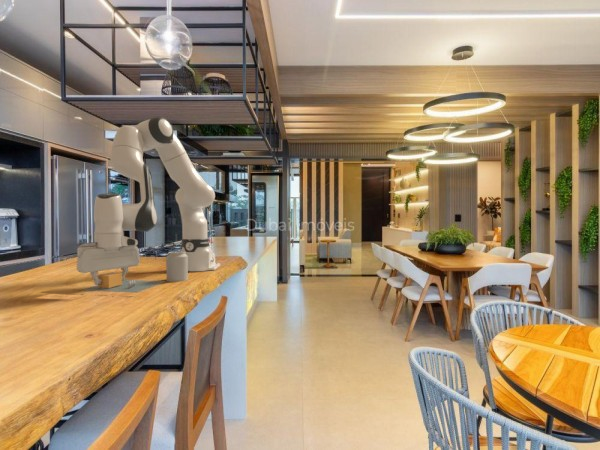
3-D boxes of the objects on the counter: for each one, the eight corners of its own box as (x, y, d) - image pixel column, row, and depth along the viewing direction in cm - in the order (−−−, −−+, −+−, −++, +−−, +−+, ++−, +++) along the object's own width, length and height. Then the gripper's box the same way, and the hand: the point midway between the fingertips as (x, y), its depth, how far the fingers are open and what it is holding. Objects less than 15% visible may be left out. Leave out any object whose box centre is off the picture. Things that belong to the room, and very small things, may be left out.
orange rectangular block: (111, 283, 134) (111, 272, 134) (122, 284, 133) (122, 272, 133) (98, 287, 128) (97, 275, 128) (108, 287, 127) (108, 275, 127)
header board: (117, 283, 144) (117, 272, 144) (167, 285, 141) (167, 274, 140) (80, 294, 125) (80, 282, 125) (137, 297, 122) (136, 284, 122)
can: (184, 285, 140) (183, 252, 139) (163, 285, 140) (163, 252, 140) (190, 281, 147) (190, 250, 147) (170, 281, 148) (170, 250, 147)
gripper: (82, 244, 120) (83, 288, 120) (142, 240, 136) (142, 279, 137) (72, 243, 123) (73, 286, 124) (131, 239, 140) (132, 277, 141)
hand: (110, 282), depth 131 cm, fingers closed on orange rectangular block, 7 cm apart
